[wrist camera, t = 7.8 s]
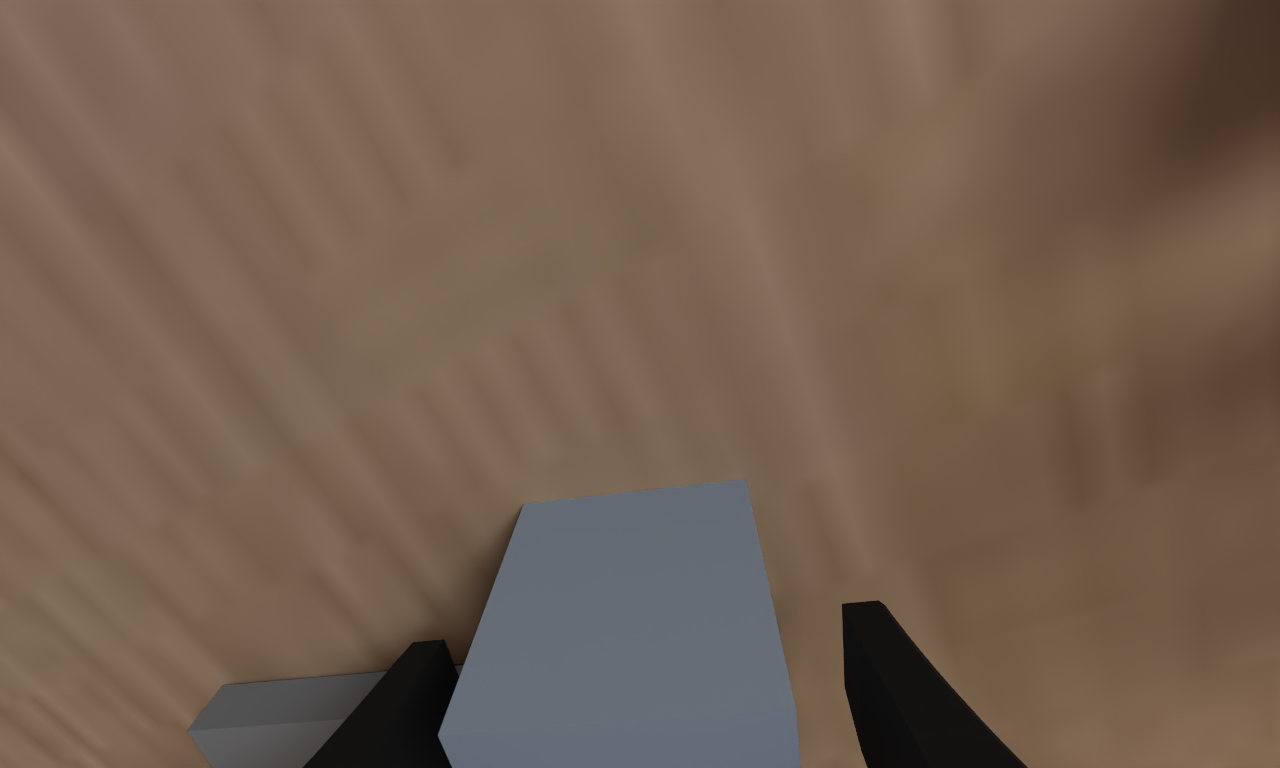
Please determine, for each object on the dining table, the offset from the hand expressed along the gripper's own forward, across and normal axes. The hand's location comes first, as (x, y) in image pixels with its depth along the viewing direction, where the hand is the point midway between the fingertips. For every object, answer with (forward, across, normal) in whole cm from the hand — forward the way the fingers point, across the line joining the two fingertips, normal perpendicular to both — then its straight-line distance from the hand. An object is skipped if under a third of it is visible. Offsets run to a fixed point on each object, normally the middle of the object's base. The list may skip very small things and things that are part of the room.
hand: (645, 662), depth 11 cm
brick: (+2, 0, 0) cm, 2 cm away
